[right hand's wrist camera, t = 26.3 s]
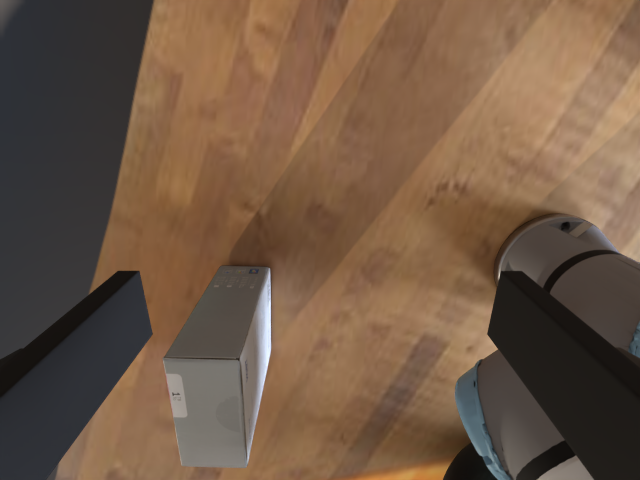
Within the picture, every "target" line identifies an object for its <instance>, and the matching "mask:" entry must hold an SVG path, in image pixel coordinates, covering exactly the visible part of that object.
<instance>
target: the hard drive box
mask: <svg viewBox="0 0 640 480" xmlns="http://www.w3.org/2000/svg"><path fill="white" fill-rule="evenodd" d="M270 352H271V285H270V268H268V267H255V266H220V268H219V269H218V271H217V272H216V274H215V276H214V277H213V279H212V281H211V282H210V284H209V285H208V287H207V289H206V290H205V292H204V294H203V295H202V297H201V299H200V300H199V302H198V303H197V305H196V307H195V308H194V310H193V312H192V313H191V315H190V316H189V318H188V320H187V321H186V323H185V325H184V326H183V328H182V329H181V331H180V333H179V334H178V336H177V338H176V339H175V341H174V342H173V344H172V346H171V347H170V349H169V350H168V352H167V354H166V355H165V357H163V363H164V368H165V375H166V381H167V386H168V391H169V397H170V403H171V408H172V414H173V418H174V423H175V430H176V436H177V442H178V447H179V453H180V459H181V465H182V466H194V467H230V468H246V466H247V465H248V460H249V455H250V450H251V445H252V440H253V435H254V431H255V426H256V421H257V416H258V411H259V406H260V401H261V397H262V392H263V387H264V382H265V377H266V372H267V367H268V362H269V358H270Z"/></svg>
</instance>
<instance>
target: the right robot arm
mask: <svg viewBox="0 0 640 480" xmlns="http://www.w3.org/2000/svg"><path fill="white" fill-rule="evenodd" d="M494 279H495V283H496V285H497V291H496V295H495V300H494V305H493V310H492V314H491V319H490V324H489V329H488V333H487V334H488V336H489V337H490V338H491V340H492V341H493V343H494V344H495V345H496V347H497V348H498V350H497V351H495V352H494V353H492V354H491V355H489V356H488V357H486V358H485V359H481V360H479V361H478V362H477V363H476V364H475V366H474V367H473V368H471V369H470V370H469V371H468V372H466V373H465V374H464V375H462V376H461V377H460V378H459V379H458V381H457V383H456V387H455V400H456V405H457V408H458V412H459V415H460V417H461V420H462V423H463V425H464V427H465V429H466V432H467V434H468V436H469V438H470V440H471V442H472V444H473V445H474V447H475V449H476V451H477V452H478V454H479V455H480V456H482V457H483V459H484V462H485V464H486V466H487V467H488V469H489V470H490V471H491V473H492V474H493V475H494V476H495V477H496V478H497V479H498V480H640V263H639V262H637V261H635V260H633V259H631V258H628V257H626V256H624V255H622V254H620V253H619V252H618V251H617V249H616V248H615V247H614V246H613V245H612V243H611V242H610V241H609V240H608V239H607V238H606V236H605V235H604V234H603V233H602V232H601V231H600V230H599V229H598V228H597V227H596V226H595V225H593V224H591V223H590V222H588V221H585V220H583V219H581V218H578V217H576V216H572V215H567V214H551V215H546V216H542V217H539V218H536V219H533V220H531V221H529V222H527V223H526V224H524V225H522V226H521V227H519V228H518V229H517V230H516V231H514V232H513V233H512V234H511V235H510V236H509V237H508V238H507V240H506V241H505V242H504V244H503V245H502V247H501V248H500V250H499V252H498V254H497V257H496V260H495V265H494ZM152 334H153V333H152V329H151V324H150V319H149V314H148V310H147V305H146V300H145V295H144V291H143V286H142V281H141V277H140V272H139V271H117V272H116V273H115V274H114V275H113V276H111V277H110V278H109V279H108V280H106V281H105V282H104V283H103V284H102V285H100V286H99V287H98V288H97V289H95V290H94V291H93V292H92V293H91V294H89V295H88V296H87V297H86V298H85V299H83V300H82V301H81V302H80V303H78V304H77V305H76V306H75V307H74V308H72V309H71V310H70V311H69V312H67V313H66V314H65V315H64V316H63V317H61V318H60V319H59V320H58V321H56V322H55V323H54V324H53V325H52V326H50V327H49V328H48V329H47V330H45V331H44V332H43V333H42V334H41V335H39V336H38V337H37V338H36V339H35V340H33V341H32V342H31V343H30V344H28V345H27V346H26V347H25V348H24V349H19V350H17V351H15V352H13V353H12V354H10V355H8V356H6V357H4V358H2V359H0V480H46V479H47V478H48V476H49V475H50V474H51V472H52V471H53V470H54V468H55V467H56V465H57V464H58V463H59V461H60V460H61V459H62V457H63V456H64V455H65V453H66V452H67V450H68V449H69V448H70V446H71V445H72V444H73V442H74V441H75V440H76V438H77V437H78V435H79V434H80V433H81V431H82V430H83V429H84V427H85V426H86V424H87V423H88V422H89V420H90V419H91V418H92V416H93V415H94V414H95V412H96V411H97V409H98V408H99V407H100V405H101V404H102V403H103V401H104V400H105V399H106V397H107V396H108V394H109V393H110V392H111V390H112V389H113V388H114V386H115V385H116V384H117V382H118V381H119V379H120V378H121V377H122V375H123V374H124V373H125V371H126V370H127V368H128V367H129V366H130V364H131V363H132V362H133V360H134V359H135V358H136V356H137V355H138V353H139V352H140V351H141V349H142V348H143V347H144V345H145V344H146V343H147V341H148V340H149V338H150V337H151V336H152Z"/></svg>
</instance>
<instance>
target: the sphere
mask: <svg viewBox="0 0 640 480" xmlns="http://www.w3.org/2000/svg"><path fill="white" fill-rule="evenodd" d="M443 480H498V479H497V478H496V477H495V476H494V475H493V474H492V473H491V471H490V470H489V469H488V467H487V466H486V464H485V462H484V459H483V457H482V456H480V455H479V454H478V452H477V451H476V449H475V447H474V445H473V444H472V443H470V444H469V445H467V446H466V447H465V448H464V449H463V450H462V451H461V452H460V453H459V454H458V455H457V456H456V457H455V459H454V460H453V461H452V463H451V464H450V466H449V468H448V469H447V472H446V474H445V476H444V478H443Z"/></svg>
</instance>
